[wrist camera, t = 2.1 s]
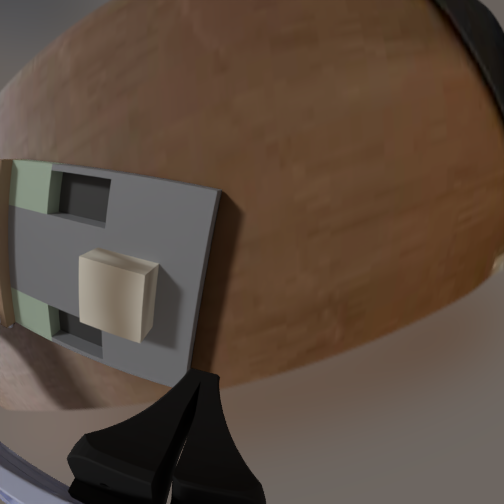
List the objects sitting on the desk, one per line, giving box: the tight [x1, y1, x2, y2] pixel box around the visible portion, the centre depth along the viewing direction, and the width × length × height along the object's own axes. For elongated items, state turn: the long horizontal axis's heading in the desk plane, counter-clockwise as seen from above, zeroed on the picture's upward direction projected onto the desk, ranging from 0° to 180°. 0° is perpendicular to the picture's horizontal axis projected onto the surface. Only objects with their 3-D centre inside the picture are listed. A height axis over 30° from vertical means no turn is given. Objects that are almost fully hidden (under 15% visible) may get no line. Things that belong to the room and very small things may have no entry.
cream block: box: [79, 248, 159, 343], centre depth 18 cm, size 5×5×2 cm
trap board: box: [0, 159, 222, 387], centre depth 20 cm, size 20×16×4 cm
